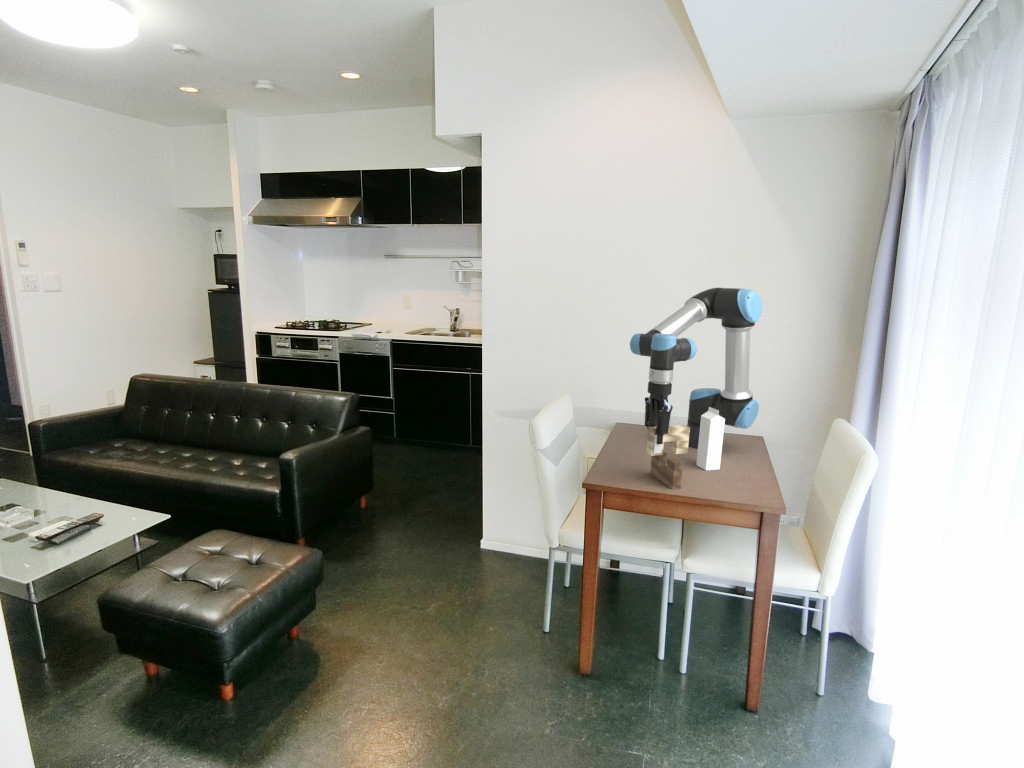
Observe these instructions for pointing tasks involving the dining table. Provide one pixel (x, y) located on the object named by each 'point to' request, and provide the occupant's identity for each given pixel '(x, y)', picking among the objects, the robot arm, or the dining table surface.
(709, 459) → the milk
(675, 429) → the cross plate
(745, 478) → the dining table surface
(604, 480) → the dining table surface
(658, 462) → the slotted base
